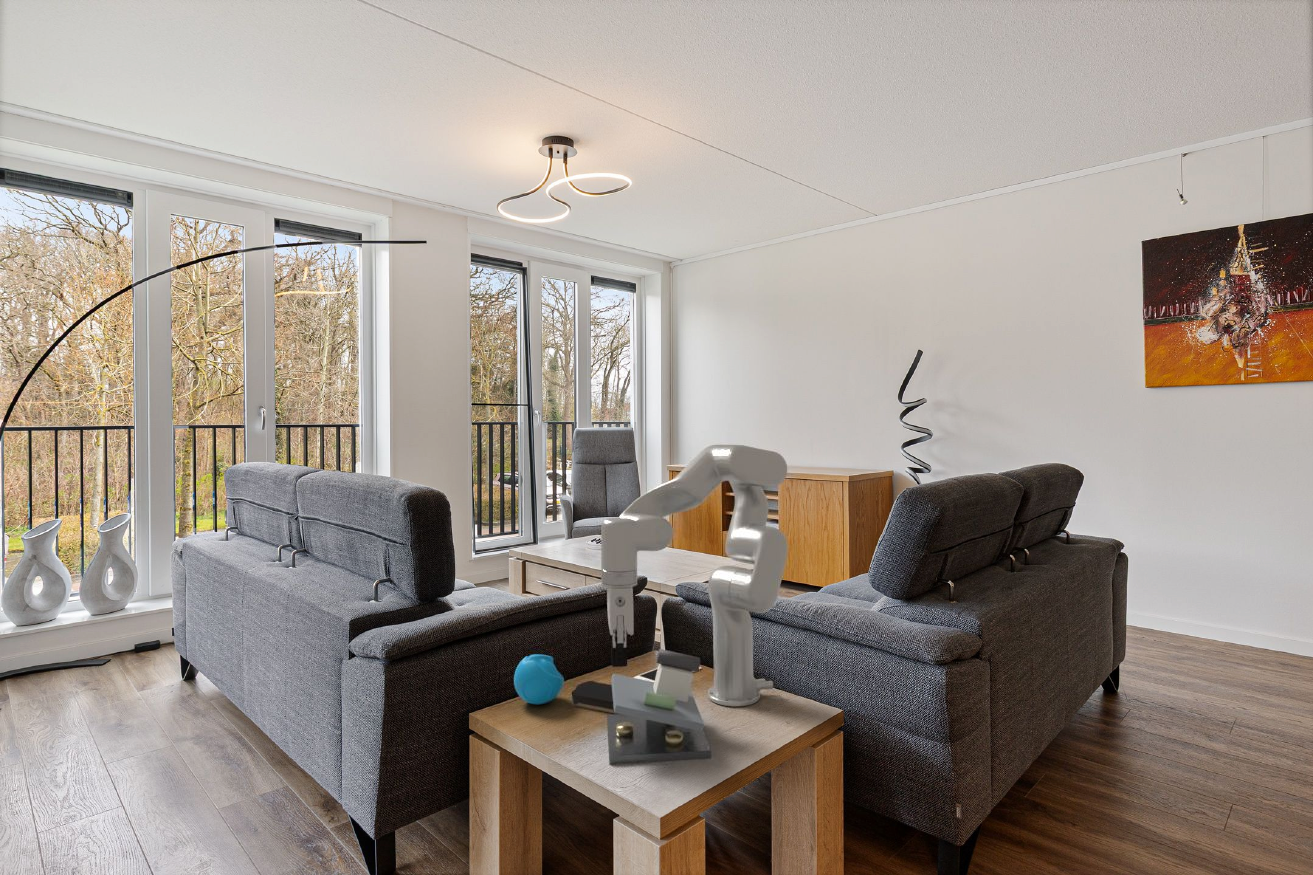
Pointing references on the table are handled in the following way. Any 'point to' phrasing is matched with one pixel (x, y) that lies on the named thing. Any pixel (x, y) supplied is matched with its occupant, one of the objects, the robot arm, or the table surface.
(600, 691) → the black sponge
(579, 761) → the table surface
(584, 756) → the table surface
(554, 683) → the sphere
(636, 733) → the levelling stand
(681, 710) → the plate
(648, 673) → the cell phone
